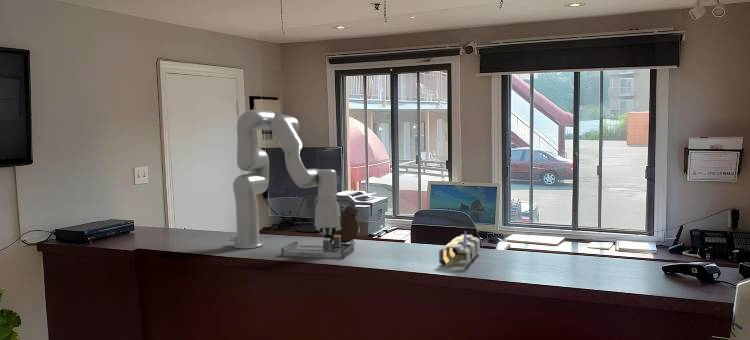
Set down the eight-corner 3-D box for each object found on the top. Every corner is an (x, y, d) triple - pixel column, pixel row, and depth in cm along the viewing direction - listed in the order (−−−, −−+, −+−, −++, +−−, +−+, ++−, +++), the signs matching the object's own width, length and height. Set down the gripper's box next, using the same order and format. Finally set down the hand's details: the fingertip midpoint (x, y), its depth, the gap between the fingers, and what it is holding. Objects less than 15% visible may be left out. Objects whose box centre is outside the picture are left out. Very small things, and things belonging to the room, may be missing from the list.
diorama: (467, 269, 194) (467, 232, 193) (438, 267, 198) (438, 231, 197) (479, 254, 218) (479, 222, 217) (454, 253, 221) (454, 221, 220)
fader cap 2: (333, 247, 224) (333, 235, 224) (335, 246, 226) (335, 235, 226) (339, 247, 223) (339, 236, 223) (341, 246, 225) (340, 235, 225)
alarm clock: (360, 242, 244) (359, 198, 243) (358, 246, 237) (357, 200, 236) (328, 242, 246) (327, 198, 245) (325, 246, 239) (324, 200, 237)
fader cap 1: (323, 250, 218) (322, 238, 218) (324, 249, 220) (324, 238, 219) (329, 250, 217) (328, 239, 217) (330, 249, 219) (330, 238, 219)
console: (281, 256, 220) (281, 248, 220) (295, 249, 233) (295, 241, 233) (343, 258, 213) (343, 250, 213) (354, 251, 227) (353, 243, 226)
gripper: (307, 200, 223) (308, 245, 224) (342, 200, 219) (343, 246, 220) (313, 198, 230) (315, 241, 231) (348, 198, 226) (348, 243, 227)
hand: (328, 244), depth 226 cm, fingers closed
